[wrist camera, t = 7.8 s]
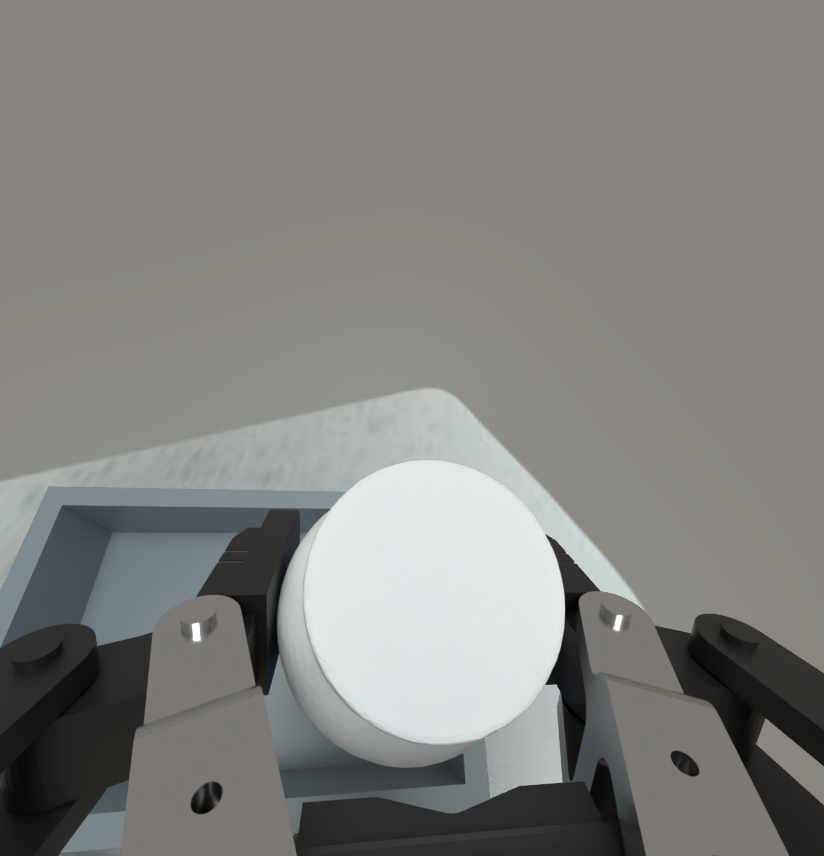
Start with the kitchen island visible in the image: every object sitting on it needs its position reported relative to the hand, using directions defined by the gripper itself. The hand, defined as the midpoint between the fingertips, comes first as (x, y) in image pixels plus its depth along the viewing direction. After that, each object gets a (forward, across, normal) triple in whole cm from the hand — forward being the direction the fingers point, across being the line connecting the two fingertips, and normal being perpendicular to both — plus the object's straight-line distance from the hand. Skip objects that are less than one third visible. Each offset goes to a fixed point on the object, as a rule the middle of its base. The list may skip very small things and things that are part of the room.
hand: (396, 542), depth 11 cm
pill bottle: (+2, 0, +5) cm, 5 cm away
